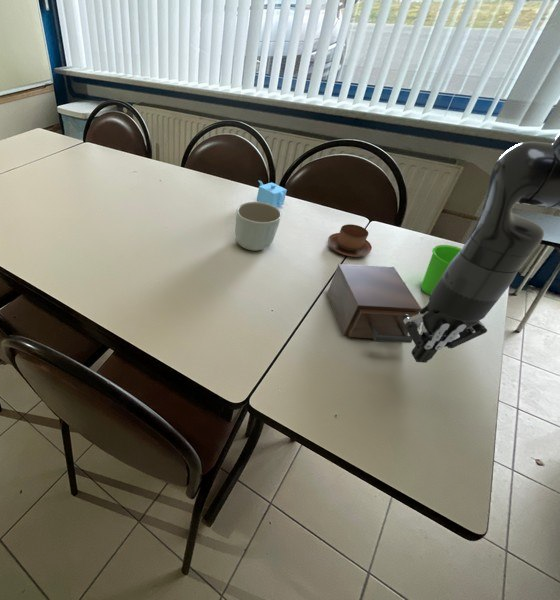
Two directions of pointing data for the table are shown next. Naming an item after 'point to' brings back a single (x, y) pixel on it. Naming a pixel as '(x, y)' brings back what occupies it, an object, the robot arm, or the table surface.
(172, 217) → the table surface
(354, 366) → the table surface
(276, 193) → the teapot
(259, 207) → the planter
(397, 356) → the table surface
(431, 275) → the cup
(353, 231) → the cup and saucer
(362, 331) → the drawer
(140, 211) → the table surface
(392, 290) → the cabinet
